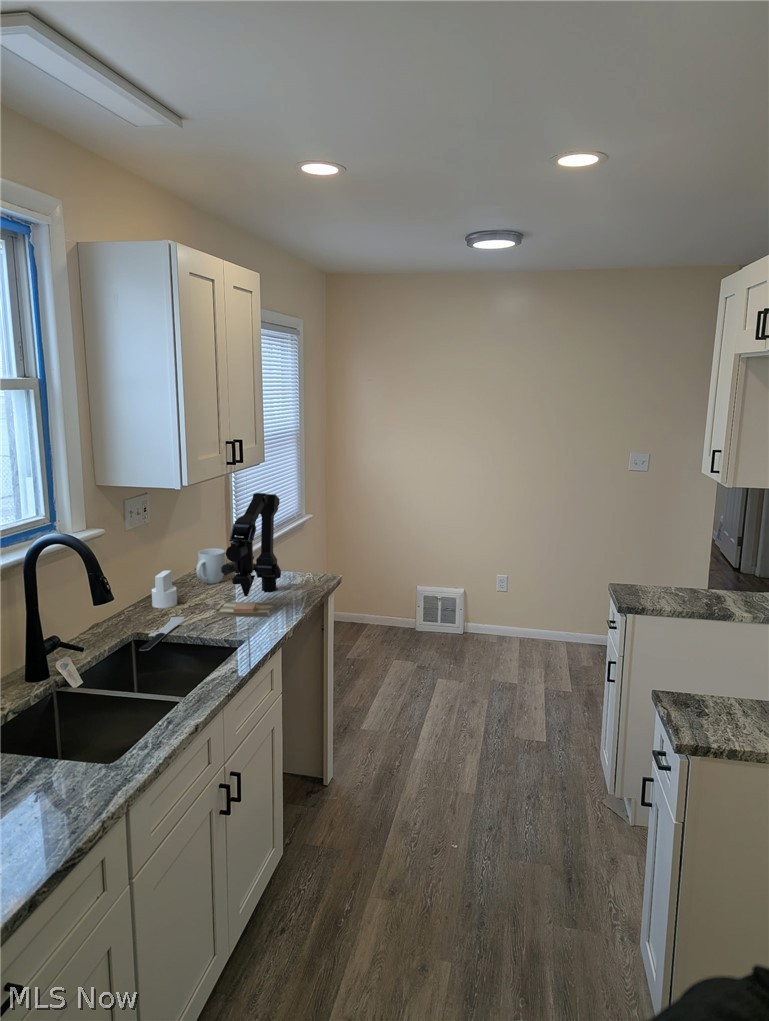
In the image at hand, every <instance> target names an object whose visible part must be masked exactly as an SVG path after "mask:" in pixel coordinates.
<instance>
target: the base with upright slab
mask: <svg viewBox="0 0 769 1021" xmlns="http://www.w3.org/2000/svg"><path fill="white" fill-rule="evenodd" d="M172 579H173V578H172V570H162V571H161V572H160V573H158V574H157V575H155V576H154V582H155V583H154V584H155V585H154V586H155V587H154V588H151V604H152V607H153V608H155V609H168V608H172V607H176V606H177V605H178V597H177V596H178V595H177V594H178V592H177V590H178V589H177V588H178V587H176V586H174V585H173V580H172Z"/></svg>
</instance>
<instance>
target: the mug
mask: <svg viewBox="0 0 769 1021" xmlns="http://www.w3.org/2000/svg"><path fill="white" fill-rule="evenodd" d="M197 555H198V560H197V565H196V569H195V570H196V573H195V574H196V576H197V578H198V579H199V580H200V581H203V582H204V583H205V584H213V585H215V584H218V583H221V581H222V580H223V578H224V577H225V576H224V574H223V573H222V572H221V567H222V566H223V565H225V564H227V563H226V550H224V549H221V548H204V549H201V550H198V553H197Z"/></svg>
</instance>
